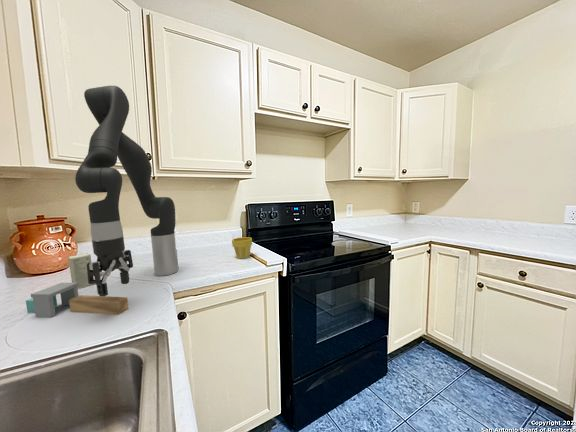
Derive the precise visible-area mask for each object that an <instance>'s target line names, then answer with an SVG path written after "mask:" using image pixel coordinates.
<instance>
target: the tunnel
mask: <svg viewBox="0 0 576 432" xmlns="http://www.w3.org/2000/svg"><path fill="white" fill-rule="evenodd" d="M77 286H79V285H78V283H72V282H60V283H56V284H54V285H51V286H49V287H46V288H44V289H41V290H38V291H36V292H34V293H30V299H31V298H33V303H34V309H35V313H34V316H35V318H53V317H55V316H56V310H55V307H54V302H53V296H55V295H56V296H57V295H60V300H61V305H62V306H70V304H69V300H70V299H73V298H75V297H77V296H80V295H79V288H77Z"/></svg>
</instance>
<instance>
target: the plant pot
mask: <svg viewBox="0 0 576 432" xmlns="http://www.w3.org/2000/svg"><path fill="white" fill-rule="evenodd" d="M231 245H232V247H233V249H234V251H235V253H234V254H235V256H236V258H237V259H240V260H241V259H248V258H250V256H251V255H250V254H251V248H252V245H253V239H252V237H247V236H246V237H236V238H232V239H231Z"/></svg>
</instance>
